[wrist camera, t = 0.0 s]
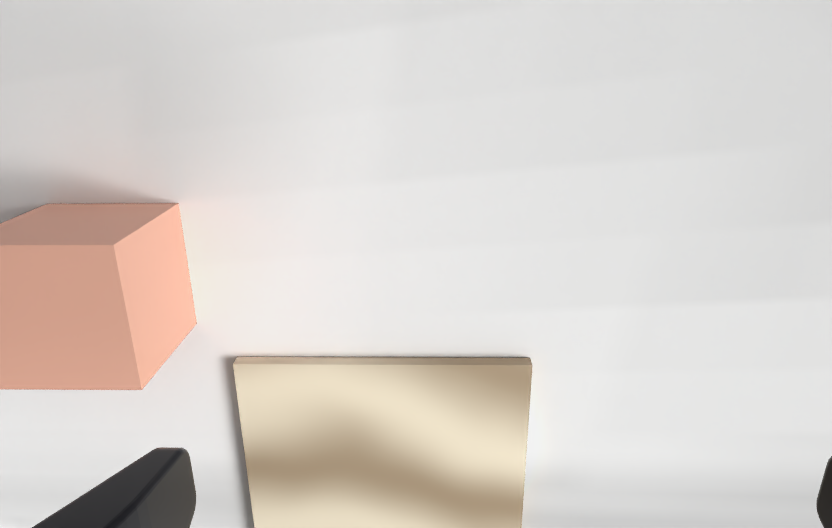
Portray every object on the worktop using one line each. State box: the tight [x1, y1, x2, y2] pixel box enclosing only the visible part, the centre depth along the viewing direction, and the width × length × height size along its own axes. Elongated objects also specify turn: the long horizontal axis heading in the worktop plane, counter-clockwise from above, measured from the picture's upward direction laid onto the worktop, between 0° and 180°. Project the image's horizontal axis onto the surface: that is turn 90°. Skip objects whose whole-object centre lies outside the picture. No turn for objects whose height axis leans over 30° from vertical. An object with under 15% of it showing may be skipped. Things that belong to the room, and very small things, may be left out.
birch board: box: [233, 357, 532, 528], centre depth 26 cm, size 12×12×1 cm
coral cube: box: [0, 203, 197, 390], centre depth 21 cm, size 5×5×5 cm
